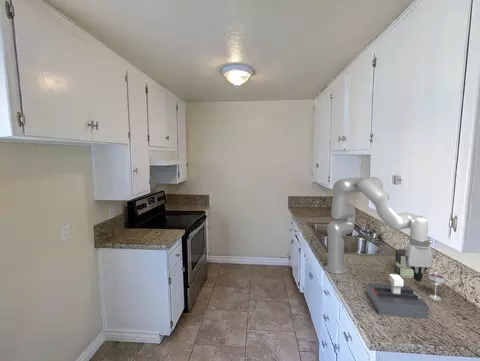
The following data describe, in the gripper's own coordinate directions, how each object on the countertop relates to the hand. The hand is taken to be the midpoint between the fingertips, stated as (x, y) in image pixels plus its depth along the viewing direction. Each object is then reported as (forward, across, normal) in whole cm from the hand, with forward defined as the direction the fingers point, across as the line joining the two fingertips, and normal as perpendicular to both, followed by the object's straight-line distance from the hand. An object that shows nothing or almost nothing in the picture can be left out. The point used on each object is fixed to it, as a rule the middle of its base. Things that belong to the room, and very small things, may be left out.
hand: (417, 280), depth 124 cm
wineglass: (+14, -14, -12) cm, 22 cm away
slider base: (+13, +9, 0) cm, 16 cm away
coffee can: (+13, -10, -38) cm, 41 cm away
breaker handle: (+7, +9, 0) cm, 12 cm away
